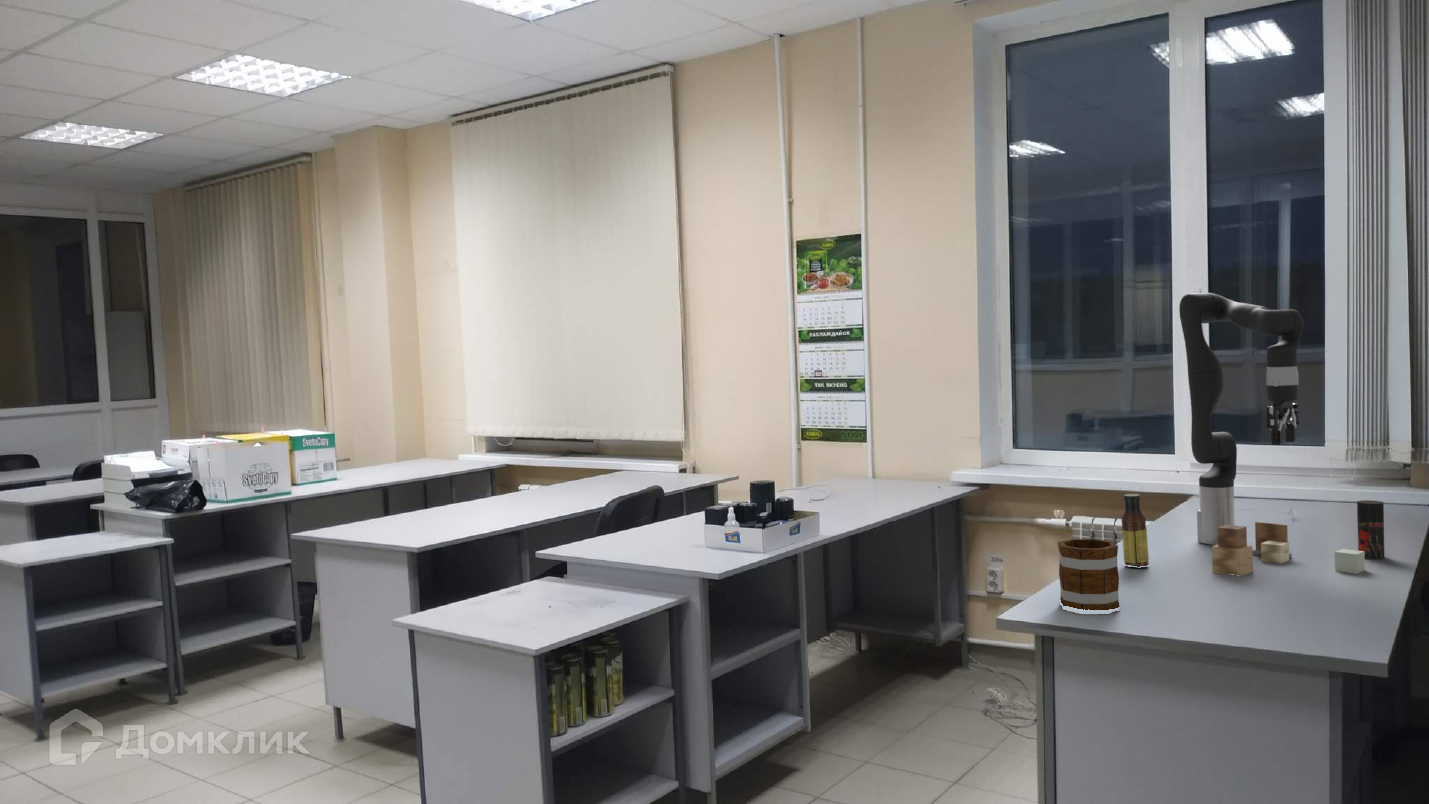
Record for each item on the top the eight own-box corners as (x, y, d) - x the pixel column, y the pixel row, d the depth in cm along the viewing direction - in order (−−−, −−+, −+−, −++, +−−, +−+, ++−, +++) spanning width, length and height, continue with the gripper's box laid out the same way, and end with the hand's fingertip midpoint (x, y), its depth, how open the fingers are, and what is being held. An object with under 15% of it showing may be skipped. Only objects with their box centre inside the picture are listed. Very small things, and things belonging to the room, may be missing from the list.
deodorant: (1388, 559, 255) (1387, 503, 254) (1364, 559, 256) (1363, 504, 256) (1378, 554, 261) (1377, 500, 260) (1354, 554, 262) (1353, 500, 261)
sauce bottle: (1149, 564, 262) (1147, 493, 261) (1148, 569, 256) (1146, 496, 255) (1123, 563, 264) (1121, 492, 263) (1122, 568, 259) (1120, 496, 258)
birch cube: (1261, 561, 260) (1260, 543, 260) (1269, 558, 263) (1269, 540, 263) (1280, 563, 256) (1280, 545, 256) (1289, 560, 259) (1288, 542, 259)
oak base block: (1212, 572, 250) (1211, 546, 250) (1225, 568, 254) (1224, 542, 254) (1240, 576, 244) (1239, 549, 244) (1253, 572, 248) (1252, 545, 248)
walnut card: (1252, 554, 268) (1251, 522, 267) (1257, 553, 269) (1256, 520, 269) (1286, 559, 260) (1286, 525, 260) (1291, 557, 262) (1290, 524, 262)
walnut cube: (1218, 546, 249) (1217, 527, 249) (1227, 543, 252) (1226, 524, 252) (1237, 548, 245) (1237, 529, 245) (1246, 545, 248) (1246, 526, 248)
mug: (1113, 618, 213) (1111, 551, 212) (1051, 611, 221) (1049, 547, 220) (1132, 597, 229) (1130, 536, 228) (1074, 592, 237) (1072, 532, 236)
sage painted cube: (1335, 571, 246) (1334, 551, 245) (1342, 567, 249) (1342, 548, 248) (1357, 573, 242) (1356, 554, 241) (1364, 570, 244) (1364, 551, 244)
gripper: (1279, 382, 264) (1280, 440, 265) (1255, 385, 256) (1256, 445, 256) (1308, 382, 258) (1310, 441, 259) (1285, 384, 250) (1286, 446, 250)
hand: (1283, 443), depth 258 cm, fingers open, 8 cm apart
